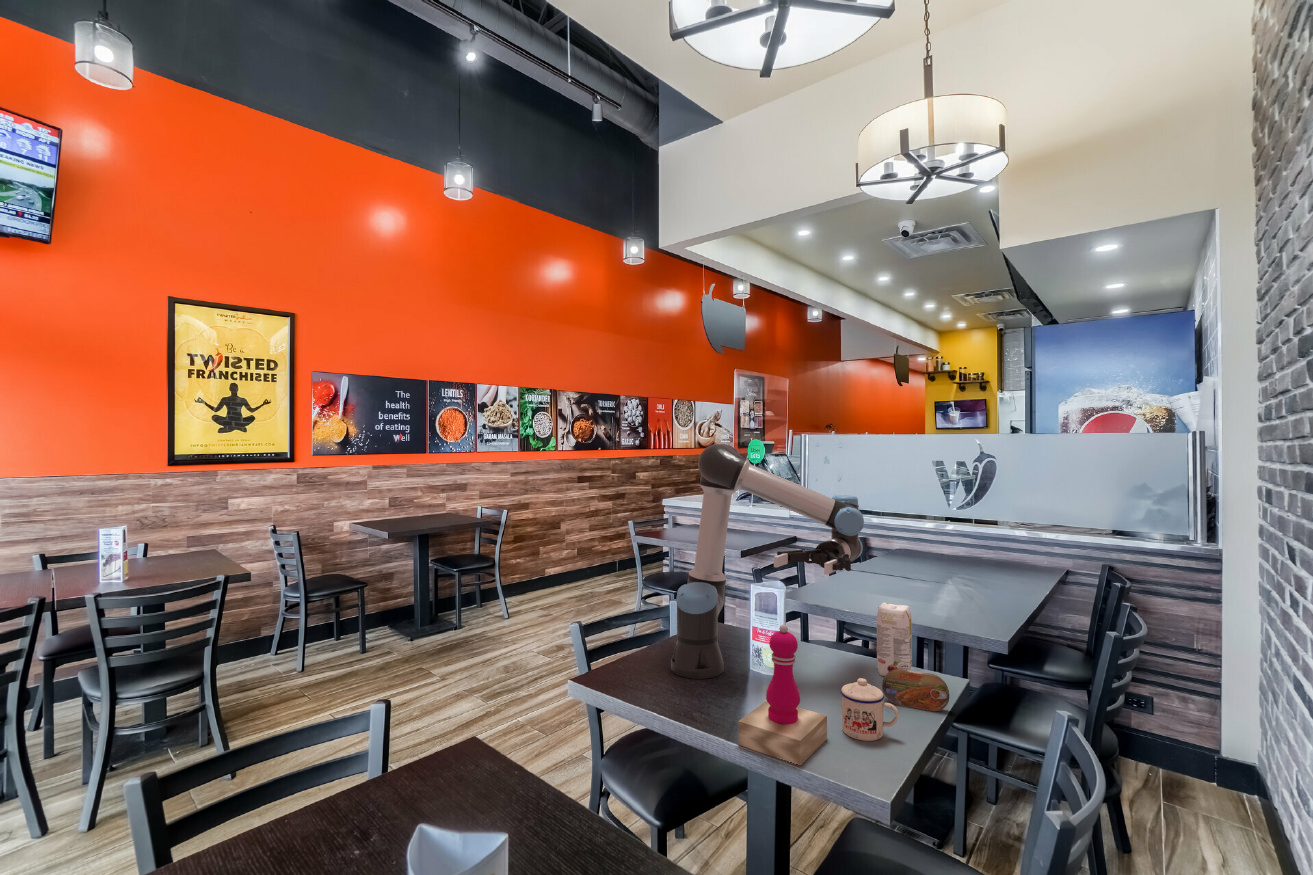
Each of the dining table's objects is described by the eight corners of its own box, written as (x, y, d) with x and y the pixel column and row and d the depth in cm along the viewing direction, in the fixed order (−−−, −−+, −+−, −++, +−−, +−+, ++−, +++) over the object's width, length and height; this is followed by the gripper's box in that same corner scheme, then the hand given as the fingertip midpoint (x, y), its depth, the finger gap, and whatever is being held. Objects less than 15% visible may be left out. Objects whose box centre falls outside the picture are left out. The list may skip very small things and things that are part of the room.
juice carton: (908, 681, 161) (908, 611, 161) (875, 675, 165) (875, 606, 166) (913, 672, 167) (912, 604, 168) (881, 667, 172) (880, 600, 172)
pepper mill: (800, 712, 131) (801, 621, 131) (799, 727, 124) (800, 631, 124) (767, 708, 133) (767, 618, 133) (764, 723, 126) (765, 628, 126)
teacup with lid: (838, 736, 130) (837, 683, 131) (844, 719, 139) (843, 669, 139) (897, 748, 125) (896, 692, 125) (899, 730, 133) (899, 677, 134)
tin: (882, 702, 148) (881, 668, 148) (883, 697, 151) (883, 664, 151) (949, 715, 141) (949, 679, 141) (949, 709, 144) (949, 674, 144)
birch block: (738, 744, 127) (738, 720, 127) (768, 720, 138) (768, 698, 138) (800, 765, 118) (800, 740, 118) (827, 738, 129) (826, 715, 130)
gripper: (877, 573, 159) (848, 587, 142) (790, 561, 174) (755, 573, 158) (877, 545, 159) (848, 556, 142) (790, 536, 175) (755, 545, 158)
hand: (799, 565), depth 150 cm, fingers open, 13 cm apart
